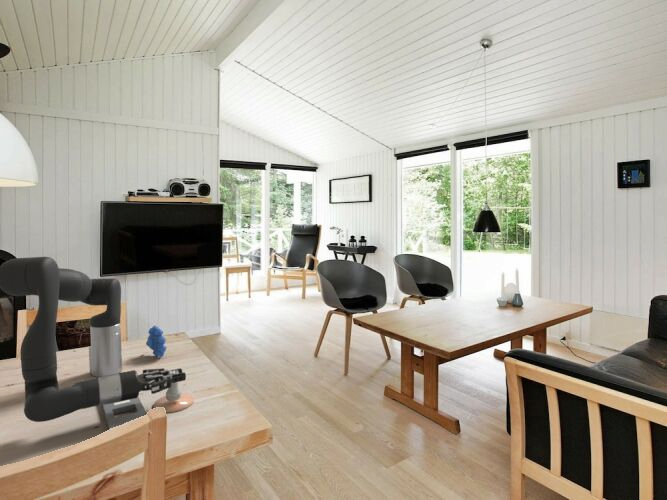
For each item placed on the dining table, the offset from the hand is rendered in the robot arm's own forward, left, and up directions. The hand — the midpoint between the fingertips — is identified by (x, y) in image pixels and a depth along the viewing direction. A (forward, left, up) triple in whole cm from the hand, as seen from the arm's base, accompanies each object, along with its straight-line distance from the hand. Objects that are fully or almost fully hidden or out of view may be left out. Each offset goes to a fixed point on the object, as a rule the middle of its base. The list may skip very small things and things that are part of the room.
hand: (183, 374), depth 117 cm
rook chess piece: (-2, -2, -7) cm, 7 cm away
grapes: (-35, +30, -8) cm, 47 cm away
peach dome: (-2, -2, -8) cm, 9 cm away
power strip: (-14, -8, -8) cm, 19 cm away
